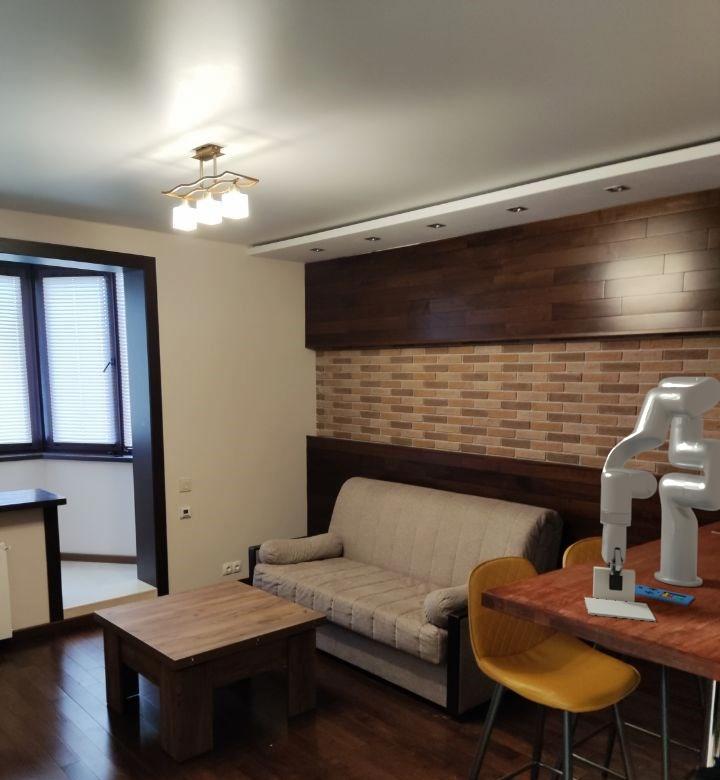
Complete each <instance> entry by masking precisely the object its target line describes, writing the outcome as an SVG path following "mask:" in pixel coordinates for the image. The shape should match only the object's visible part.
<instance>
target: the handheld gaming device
mask: <svg viewBox="0 0 720 780" xmlns="http://www.w3.org/2000/svg"><path fill="white" fill-rule="evenodd" d="M664 593H666V594H664ZM668 594H671V596H672V595H673V597H672V598H671V597H668V596H667V595H668ZM640 595H642V596H641V597H644V596H646V598H649V597H650V599H655V600H658V599H659V601H663V600H664V601H663V602H667V601H669V602H668V603H672V602H673V604H676V603H677V604H678V605H681V604H682V606H689V605H690V604H691V603H692V602H693V601H694V600H695V597H694V596H693V595H688V594H683V593H680V592H679V593H678V592H674V591H669V590H665V589H660V588H656V587H652V586H651V587H650V586H646V585H641V584H635V596H640ZM674 599H675V600H674ZM681 600H682V601H681ZM692 600H693V601H692ZM691 601H692V602H691ZM690 602H691V603H690Z"/></svg>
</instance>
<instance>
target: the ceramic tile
mask: <svg viewBox="0 0 720 780" xmlns="http://www.w3.org/2000/svg"><path fill="white" fill-rule="evenodd" d="M609 574H611V572H610V568H606V566H605V567H603V566H602V567H601V566H593V581H592V582H593V583H592V584H593V586H592V598H593V597H594V598H599V599H607V600H616V601H627V602H635V599H636V598H635V597H636V594H635V585H636V571H635V569H626V568H622V575H623V585H622V591H617V590H610V589H609Z"/></svg>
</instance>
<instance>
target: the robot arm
mask: <svg viewBox="0 0 720 780" xmlns="http://www.w3.org/2000/svg"><path fill="white" fill-rule="evenodd" d="M718 403H720V380H718V379H717V378H716V377H713V376H669V377H665V378H663V379H661V380H660V381H659V383H658V384H657V387H654V388H650V390H648V391H647V393H646V395H645V397H644V401H643V403H642V405H641V408H640V411H639V414H638V416H637V417H638V418H637V420H636V422H635V425H634V429H633V431H632V432H631V433H630V434H628V435H627V436H626V437H625V438H623V439H621V441H619V442H618V443H617V444H616V445H615V446H614V447H613V448H612V449H611V450H610V452H609V453H608V455H607V458H606V460H605V463H604V465H603V469H602V472H601V476H600V484H601V485H600V486H601V487H600V517H599V518H600V521H599V522H600V524H602V525H603V528H602V543H601V557H602V559H603V561H604V562H605V563H606V566H605V568H610V572H611V574H609V589H610V590H617V591H622V585H623V575H622V569H623V565H624V564H625V563H626V556H627V555H626V554H627V527H631V526H632V525H631V524H632V499H642V500H643V499H644V500H645V499H649V498H650V497H652V496H653V495H654V494H656V491H657V489H658V494H659V498H660V504H661V505H660V506H661V528H660V529H661V532H660V533H661V535H660V536H661V537H660V567H659V568H660V570H658V571H655V572H654V578H655V579H656V580H657V581H659V582H662V583H665V584H668V585H674V586H679V587H689V588H690V587H699V586H702V585H703V578H701V577H700V576H697V570H698V568H697V567H698V536H699V535H698V534H699V531H698V530H699V528H698V527H699V524H698V522H699V521H698V519H697V517H696V514H695V512H694V511H693V510H692V508H693V509H699V510H702V511H703V510H704V511H712V512H713V511H714V512H715V511H718V510H720V439H717V438H708V437H706V438H705V437H703V436H704V435H703V434H704V432H703V431H704V420H703V416H702V414H704V413H706V412H707V411H709V410H711V409H712V408H714V407H715V406H716V405H718ZM669 431H670V433H669ZM668 434H670V435H669V444H668V454H667V455H668V456H667V457H668V461H669V463H670V465H671V466H673V467H675V468H679V469H684V470H692V471H701V472H704V475H698V474H691V473H684V472H670V473H666V474H664V475H663V476H662V477H661V478H660V480H659V482H658V481H657V479H656V476H654V475H653V474H652V473H651V472H649V471H646V470H641V469H633V468H625V465H626V463H627V462H628V461H629V460H631V459H632V458H633V457H635V456H637V455H639V454H641V453H644V452H647V451H650V450H653V449H656V448H659V447H660V446H663V445H664V444H665V442H666V440H667V436H668Z"/></svg>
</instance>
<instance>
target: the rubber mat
mask: <svg viewBox="0 0 720 780" xmlns="http://www.w3.org/2000/svg"><path fill="white" fill-rule="evenodd" d="M584 599H585V600H584V603H585V606H586V609H588V610H587V613H588V615H589V614H590V615H589V616H595V615H597V617H598V616H599V617H604V616H605V618H613V617H617V618H616V619H622V618H627V619H626V620H631V619H634V620H633V621H640V620H644V621H643V622H649V621H654V622H653V623H656V622H657V619H656V618H655V616H654V614H653V612H652V611H651V609H650V608H649V606H648V604H647V603H643V602H635V601H634V602H625V601H615V600H606V599H596V598H593V597H584Z"/></svg>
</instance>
